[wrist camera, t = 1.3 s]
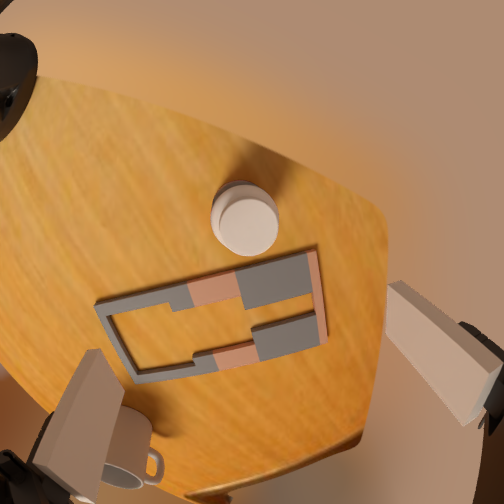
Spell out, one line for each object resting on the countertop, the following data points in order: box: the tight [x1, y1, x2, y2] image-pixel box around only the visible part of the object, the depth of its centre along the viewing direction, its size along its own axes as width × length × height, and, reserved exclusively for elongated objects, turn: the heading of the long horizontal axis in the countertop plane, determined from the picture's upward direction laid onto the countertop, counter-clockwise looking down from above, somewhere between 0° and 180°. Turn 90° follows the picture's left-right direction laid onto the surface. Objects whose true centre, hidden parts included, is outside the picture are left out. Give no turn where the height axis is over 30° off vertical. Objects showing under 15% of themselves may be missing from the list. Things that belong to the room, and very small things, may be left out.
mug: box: [101, 405, 164, 489], centre depth 30 cm, size 12×8×11 cm
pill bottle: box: [211, 180, 279, 256], centre depth 23 cm, size 5×5×9 cm
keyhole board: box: [94, 249, 328, 384], centre depth 30 cm, size 12×25×1 cm, turn 103°
